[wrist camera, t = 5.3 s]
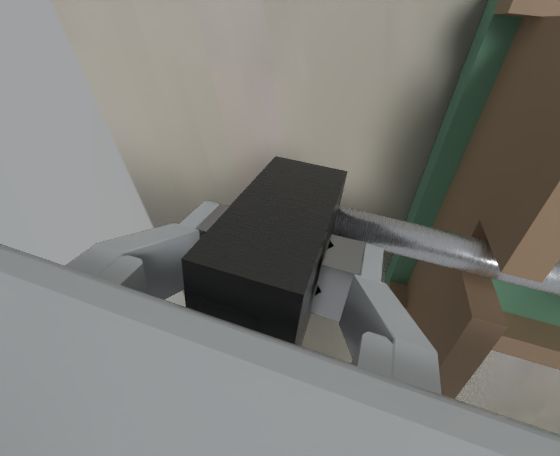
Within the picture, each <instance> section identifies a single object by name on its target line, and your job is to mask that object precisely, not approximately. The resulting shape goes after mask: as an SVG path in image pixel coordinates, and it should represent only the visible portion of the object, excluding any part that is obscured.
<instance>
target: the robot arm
mask: <svg viewBox="0 0 560 456" xmlns="http://www.w3.org/2000/svg"><path fill="white" fill-rule="evenodd" d="M228 208H229V206H227V205H223V204H220V203H216V202H212V201H204V202H203V203H202V204H201V205H200V206H199V207H197V208H196V209H195V210H194V211H193V212H192V213H191V214H190V215H188V216H187V217H186V218H185V219H184V220H183V221H182V222H181V223H179V224H176V223H172V224H169V225H165V226H161V227H157V228H153V229H150V230H146V231H142V232H138V233H134V234H130V235H127V236H123V237H119V238H115V239H111V240H108V241H103V242H100V243H96V244H95V245H93V246H92V247H90V248H89V249H88V250H86V251H85V252H83V253H82V254H81V255H79V256H78V257H77V258H75V259H74V260H72V261H71V262H70V263H68V264H67V265H65V266H64V265H61V264H58V263H55V262H52V261H49V260H46V259H43V258H40V257H37V256H34V255H31V254H29V253H25V252H23V251H20V250H17V249H14V248H11V247H8V246H5V245H2V244H0V456H560V435H558V434H555V433H552V432H549V431H546V430H543V429H541V428H538V427H535V426H532V425H529V424H526V423H523V422H520V421H517V420H514V419H511V418H508V417H505V416H503V415H500V414H497V413H494V412H491V411H488V410H485V409H482V408H479V407H476V406H473V405H470V404H467V403H464V402H462V401H459V400H456V399H453V398H450V397H447V396H444V395H442V394H441V384H440V373H439V363H438V353H437V351H436V350H435V348H434V347H433V346H432V344H431V343H430V342H429V340H428V339H427V338H426V336H425V335H424V334H423V332H422V331H421V330H420V328H419V327H418V325H417V324H416V323H415V321H414V320H413V319H412V317H411V316H410V315H409V313H408V312H407V311H406V309H405V308H404V307H403V305H402V304H401V303H400V301H399V300H398V299H397V297H396V296H395V295H394V293H393V292H392V291H391V289H390V288H389V287H388V285H387V284H386V283H383V282H381V276H382V264H383V253H384V247H383V246H380V245H376V244H371V243H367V242H362V241H358V240H354V239H349V238H345V237H341V236H337V235H333V234H332V236H331V239H330V242H329V246H328V249H327V250H326V253H325V256H324V259H323V262H322V266H321V270H320V274H319V278H318V282H317V284H318V286H317V289H316V293H315V296H314V300H313V305H312V310H311V313H314V314H316V315H319V316H322V317H325V318H328V319H331V320H334V321H337V322H339V325H340V328H341V330H342V333H343V335H344V338H345V340H346V343H347V346H348V348H349V351H350V353H351V356H352V358H353V360H352V363H351V364H350V363H347V362H344V361H341V360H338V359H335V358H333V357H330V356H327V355H324V354H321V353H318V352H315V351H312V350H309V349H306V348H304V347H301V346H298V345H295V344H292V343H289V342H286V341H283V340H280V339H277V338H274V337H272V336H269V335H266V334H263V333H260V332H257V331H254V330H251V329H248V328H245V327H242V326H239V325H236V324H234V323H231V322H228V321H225V320H222V319H219V318H216V317H213V316H210V315H207V314H204V313H201V312H198V311H195V310H192V309H189V308H187V307H183V306H181V305H177V304H175V303H172V302H169V301H166V300H164V299H166V298H168V297H170V296H172V295H174V294H176V293H178V292H180V291H182V290H184V282H183V272H182V262H181V259H182V257H183V256H184V255H185V254H186V253H187V252H188V251H189V250H190V249H191V248H192V247H193V246H194V244H195V243H196V242H197V241H198V240H199V239H200V238H201V237H202V236H203V235H204V234H205V233H206V231H207V230H208V229H209V228H210V227H211V226H212V225H213V224H214V223H215V222H216V221H217V219H218V218H219V217H220V216H221V215H222V214H223V213H224V212H225V211H226V210H227V209H228Z"/></svg>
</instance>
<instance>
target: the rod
mask: <svg viewBox="0 0 560 456" xmlns="http://www.w3.org/2000/svg"><path fill="white" fill-rule="evenodd" d="M346 175H347V171H343V170H338V169H333V168H328V167H324V166H319V165H314V164H309V163H305V162H300V161H295V160H290V159H286V158H281V157H275V158H274V159H273V160H272V161H271V162H270V163H269V164H268V165H267V166H266V167H265V169H264V170H263V171H262V172H261V173H260V174H259V175H258V176H257V177H256V178H255V179H254V180H253V182H252V183H251V184H250V185H249V186H248V187H247V188H246V189H245V190H244V191H243V192H242V193H241V195H240V196H239V197H238V198H237V199H236V200H235V201H234V202H233V203H232V204H231V205H230V206H229V208H228V209H227V210H226V211H225V212H224V213H223V214H222V215H221V216H220V217H219V218H218V219H217V221H216V222H215V223H214V224H213V225H212V226H211V227H210V228H209V229H208V230H207V231H206V233H205V234H204V235H203V236H202V237H201V238H200V239H199V240H198V241H197V242H196V243H195V244H194V246H193V247H192V248H191V249H190V250H189V251H188V252H187V253H186V254H185V255H184V256H183V257H182V259H181V262H182V272H183V282H184V292H185V302H186V307H187V308H189V309H192V310H195V311H198V312H201V313H204V314H207V315H210V316H213V317H216V318H219V319H222V320H225V321H228V322H231V323H234V324H236V325H239V326H242V327H245V328H248V329H251V330H254V331H257V332H260V333H263V334H266V335H269V336H272V337H274V338H277V339H280V340H283V341H286V342H289V343H292V344H295V345H298V346H301V345H302V341H303V338H304V335H305V332H306V328H307V325H308V322H309V318H310V315H311V310H312V305H313V300H314V296H315V293H316V289H317V286H318V284H317V282H318V278H319V274H320V270H321V266H322V262H323V259H324V256H325V253H326V250H327V249H328V246H329V242H330V239H331V236H332V234H333V235H337V236H341V237H345V238H349V239H354V240H358V241H362V242H367V243H371V244H376V245H380V246H383V247H384V251H385V252H389V253H393V254H397V255H401V256H405V257H409V258H413V259H417V260H421V261H425V262H429V263H433V264H436V265H440V266H444V267H448V268H452V269H456V270H460V271H464V272H468V273H472V274H476V275H480V276H484V277H488V278H492V279H495V280H499V281H503V282H507V283H511V284H515V285H519V286H523V287H527V288H531V289H535V290H539V291H543V292H547V293H550V294H554V295H558V296H560V259H559V261H558V262H557V263H556V265H555V266H554V267H553V269H552V270H551V271H550V273H549V274H548V275H547V277H546V278H545V279H544V281H543V282H542V283H540V282H536V281H532V280H528V279H524V278H520V277H516V276H512V275H508V274H504V273H501V272H500V269H499V267H498V264H497V262H496V259H495V257H494V254H493V252H492V249H491V247H490V244H489V242H488V240H484V239H479V238H475V237H471V236H467V235H462V234H458V233H454V232H449V231H445V230H441V229H437V228H432V227H428V226H424V225H419V224H415V223H411V222H407V221H402V220H398V219H394V218H389V217H385V216H381V215H377V214H372V213H368V212H364V211H359V210H355V209H351V208H347V207H342V206H340V201H341V197H342V193H343V188H344V184H345V180H346Z"/></svg>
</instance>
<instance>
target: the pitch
mask: <svg viewBox="0 0 560 456" xmlns="http://www.w3.org/2000/svg"><path fill="white" fill-rule="evenodd" d="M406 221H407V222H411V223H415V224H419V225H424V226H428V227H432V228H437V229H441V230H445V231H449V232H454V233H458V234H462V235H467V236H471V237H475V238H479V239H484V240H488V242H489V244H490V247H491V249H492V252H493V254H494V257H495V259H496V262H497V264H498V267H499V269H500V272H501V273H504V274H508V275H512V276H516V277H520V278H524V279H528V280H532V281H536V282H540V283H542V282H543V281H544V279H545V278H546V277H547V275H548V274H549V273H550V271H551V270H552V269H553V267H554V266H555V265H556V263H557V262H558V261H559V259H560V0H488V2H487V4H486V7H485V10H484V13H483V15H482V18H481V21H480V23H479V26H478V29H477V31H476V34H475V37H474V39H473V42H472V45H471V47H470V50H469V53H468V55H467V58H466V61H465V63H464V66H463V69H462V71H461V74H460V77H459V79H458V82H457V85H456V87H455V90H454V93H453V95H452V98H451V101H450V103H449V106H448V109H447V111H446V114H445V117H444V119H443V122H442V125H441V127H440V130H439V133H438V136H437V138H436V141H435V144H434V146H433V149H432V152H431V154H430V157H429V160H428V162H427V165H426V168H425V170H424V173H423V176H422V178H421V181H420V184H419V186H418V189H417V192H416V194H415V197H414V200H413V202H412V205H411V208H410V210H409V213H408V216H407V218H406ZM385 283H386V284H387V285H388V287H389V288H390V289H391V291H392V292H393V293H394V295H395V296H396V297H397V299H398V300H399V301H400V303H401V304H402V305H403V307H404V308H405V309H406V311H407V312H408V313H409V315H410V316H411V317H412V319H413V320H414V321H415V323H416V324H417V325H418V327H419V328H420V330H421V331H422V332H423V334H424V335H425V336H426V338H427V339H428V340H429V342H430V343H431V344H432V346H433V347H434V348H435V350H436V351H437V353H438V363H439V373H440V384H441V394H442V395H444V396H447V397H450V398H453V399H455V397H456V396H457V395H458V393H459V392H460V391H461V389H462V388H463V387H464V385H465V384H466V383H467V382H468V380H469V379H470V378H471V376H472V375H473V374H474V372H475V371H476V370H477V368H478V367H479V366H480V364H481V363H482V362H483V360H484V359H485V358H486V356H487V355H488V354H489V352H490V351H491V350H494V351H498V352H501V353H505V354H508V355H511V356H515V357H518V358H522V359H525V360H528V361H532V362H535V363H539V364H542V365H545V366H549V367H552V368H556V369H559V370H560V296H558V295H554V294H550V293H547V292H543V291H539V290H535V289H531V288H527V287H523V286H519V285H515V284H511V283H507V282H503V281H499V280H495V279H492V278H488V277H484V276H480V275H476V274H472V273H468V272H464V271H460V270H456V269H452V268H448V267H444V266H440V265H436V264H433V263H429V262H425V261H421V260H417V259H413V258H409V257H405V256H401V255H397V254H393V256H392V259H391V261H390V264H389V267H388V269H387V272H386V276H385Z"/></svg>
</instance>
